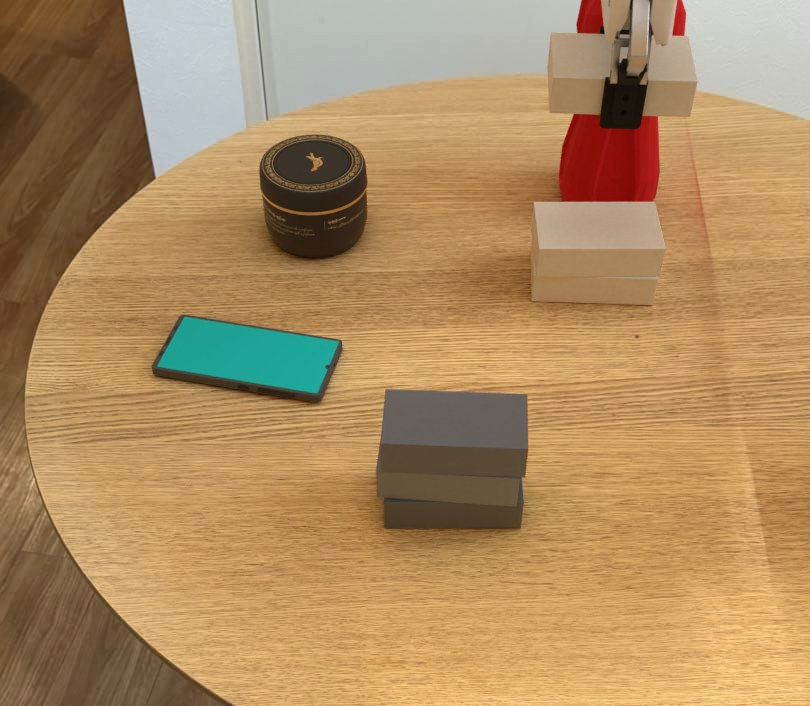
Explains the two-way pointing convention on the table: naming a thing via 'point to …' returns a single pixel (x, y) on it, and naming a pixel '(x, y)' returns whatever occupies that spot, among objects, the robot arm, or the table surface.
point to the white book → (589, 65)
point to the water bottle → (610, 143)
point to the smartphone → (248, 358)
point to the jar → (314, 195)
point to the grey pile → (452, 459)
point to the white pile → (596, 252)
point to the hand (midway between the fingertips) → (616, 98)
